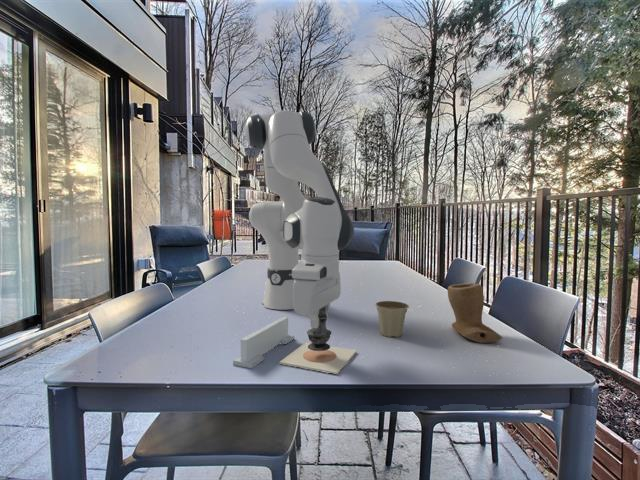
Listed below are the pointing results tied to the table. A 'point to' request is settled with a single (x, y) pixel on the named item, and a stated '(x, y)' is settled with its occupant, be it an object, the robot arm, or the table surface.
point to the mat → (319, 358)
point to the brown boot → (470, 312)
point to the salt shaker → (319, 334)
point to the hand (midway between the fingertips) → (319, 324)
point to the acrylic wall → (262, 343)
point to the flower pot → (391, 317)
